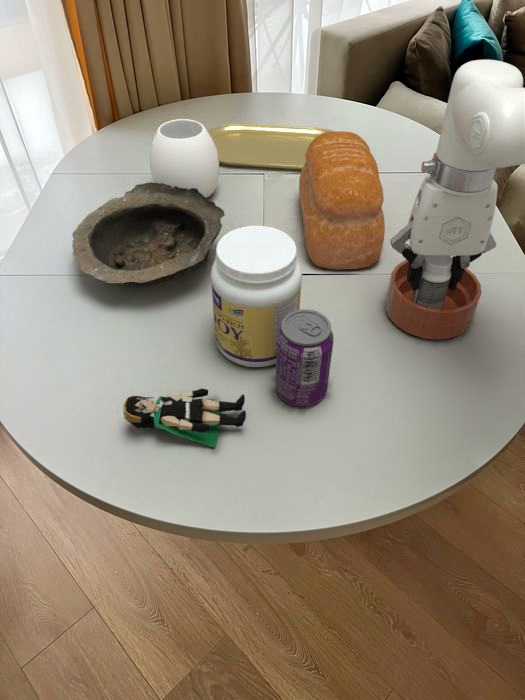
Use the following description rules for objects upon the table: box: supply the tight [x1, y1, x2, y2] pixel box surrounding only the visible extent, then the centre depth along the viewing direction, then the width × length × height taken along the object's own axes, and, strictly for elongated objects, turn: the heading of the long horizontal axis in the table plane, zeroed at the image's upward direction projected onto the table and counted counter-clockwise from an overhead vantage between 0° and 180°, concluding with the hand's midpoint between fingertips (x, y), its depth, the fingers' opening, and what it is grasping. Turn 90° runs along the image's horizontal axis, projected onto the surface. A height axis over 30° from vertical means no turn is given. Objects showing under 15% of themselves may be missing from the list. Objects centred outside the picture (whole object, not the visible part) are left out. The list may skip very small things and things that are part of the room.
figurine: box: [122, 388, 247, 449], centre depth 72 cm, size 8×6×15 cm
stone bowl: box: [71, 181, 226, 287], centre depth 94 cm, size 25×25×9 cm
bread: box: [298, 130, 386, 270], centre depth 99 cm, size 14×26×15 cm, turn 2°
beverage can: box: [274, 308, 335, 407], centre depth 73 cm, size 7×7×12 cm
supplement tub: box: [210, 225, 303, 368], centre depth 78 cm, size 12×12×17 cm
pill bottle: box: [411, 256, 453, 309], centre depth 83 cm, size 5×5×8 cm
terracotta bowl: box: [384, 259, 482, 341], centre depth 86 cm, size 13×13×6 cm
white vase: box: [149, 118, 220, 198], centre depth 108 cm, size 13×13×14 cm
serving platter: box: [206, 123, 335, 171], centre depth 125 cm, size 19×35×2 cm, turn 84°
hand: (431, 283), depth 83 cm, fingers closed on pill bottle, 4 cm apart
